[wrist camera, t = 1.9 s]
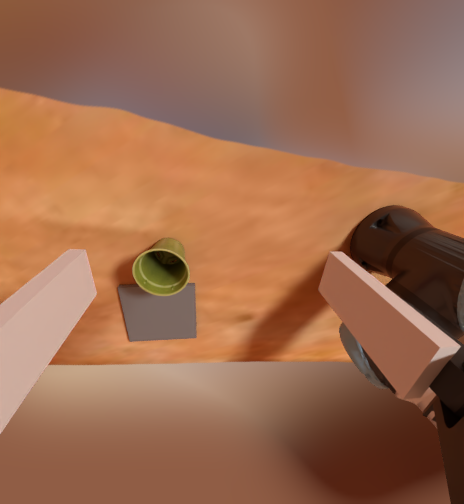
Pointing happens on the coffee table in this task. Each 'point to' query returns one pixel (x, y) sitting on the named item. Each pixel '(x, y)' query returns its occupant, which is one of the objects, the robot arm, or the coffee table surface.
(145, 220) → the coffee table surface
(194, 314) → the mat
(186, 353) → the coffee table surface
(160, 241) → the plant pot
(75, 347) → the coffee table surface
